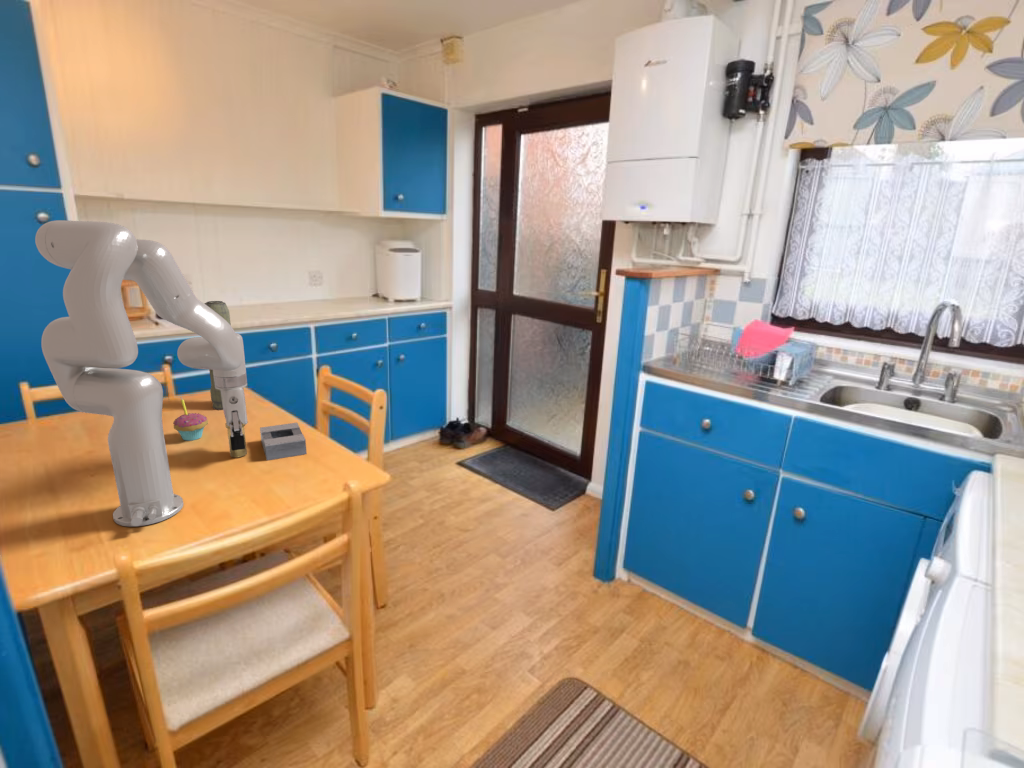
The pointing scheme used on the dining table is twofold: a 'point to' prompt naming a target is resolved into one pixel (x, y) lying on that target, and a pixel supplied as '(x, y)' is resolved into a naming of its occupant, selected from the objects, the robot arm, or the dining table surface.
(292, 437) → the jig
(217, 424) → the dining table surface
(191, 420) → the cupcake
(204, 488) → the dining table surface
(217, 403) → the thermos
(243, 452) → the brass capped cylinder
